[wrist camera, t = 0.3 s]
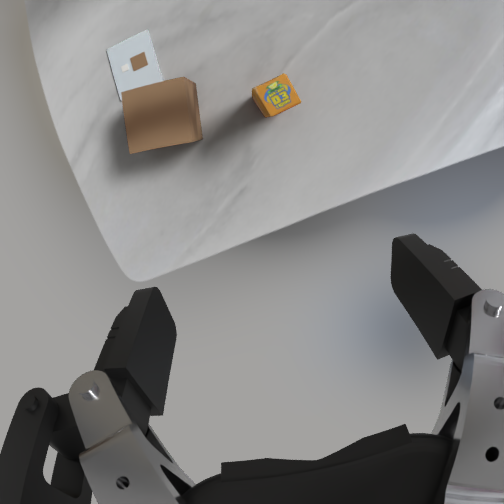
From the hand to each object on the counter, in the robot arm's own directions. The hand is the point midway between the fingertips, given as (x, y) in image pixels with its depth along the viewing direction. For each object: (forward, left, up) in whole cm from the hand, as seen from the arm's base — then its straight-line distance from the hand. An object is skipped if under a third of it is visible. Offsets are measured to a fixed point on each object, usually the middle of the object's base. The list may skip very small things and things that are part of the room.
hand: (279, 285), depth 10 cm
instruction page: (-16, -14, -28) cm, 35 cm away
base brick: (-8, -10, -28) cm, 31 cm away
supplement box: (-8, +2, -28) cm, 29 cm away
